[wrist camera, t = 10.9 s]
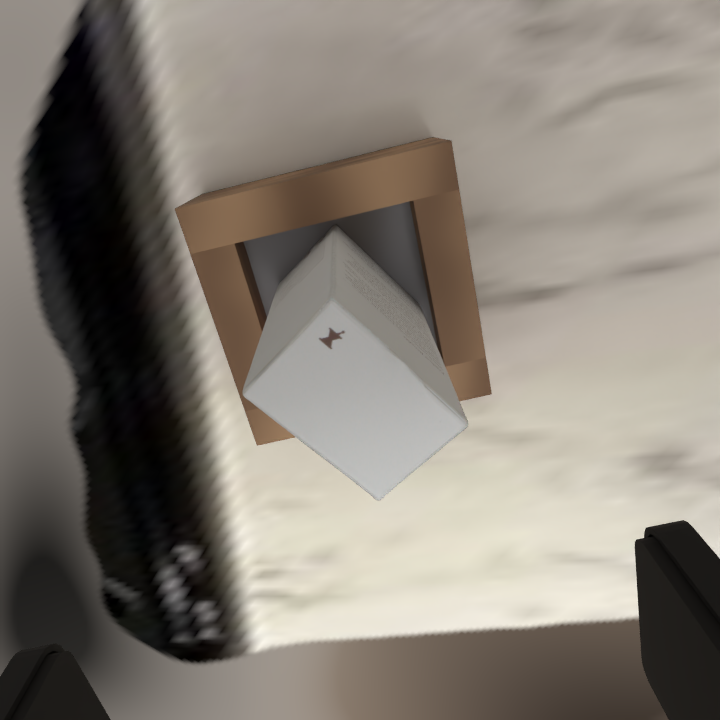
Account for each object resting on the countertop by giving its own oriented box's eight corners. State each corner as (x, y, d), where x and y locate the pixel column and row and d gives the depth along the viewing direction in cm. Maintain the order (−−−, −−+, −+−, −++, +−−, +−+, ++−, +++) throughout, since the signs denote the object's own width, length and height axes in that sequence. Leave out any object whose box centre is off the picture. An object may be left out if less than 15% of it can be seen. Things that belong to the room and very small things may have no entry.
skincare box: (275, 285, 28) (233, 392, 17) (335, 221, 27) (331, 291, 16) (364, 364, 30) (378, 508, 19) (424, 307, 29) (476, 423, 18)
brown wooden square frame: (432, 137, 29) (451, 140, 24) (469, 354, 33) (491, 394, 29) (201, 194, 30) (174, 208, 25) (268, 399, 34) (257, 445, 29)
